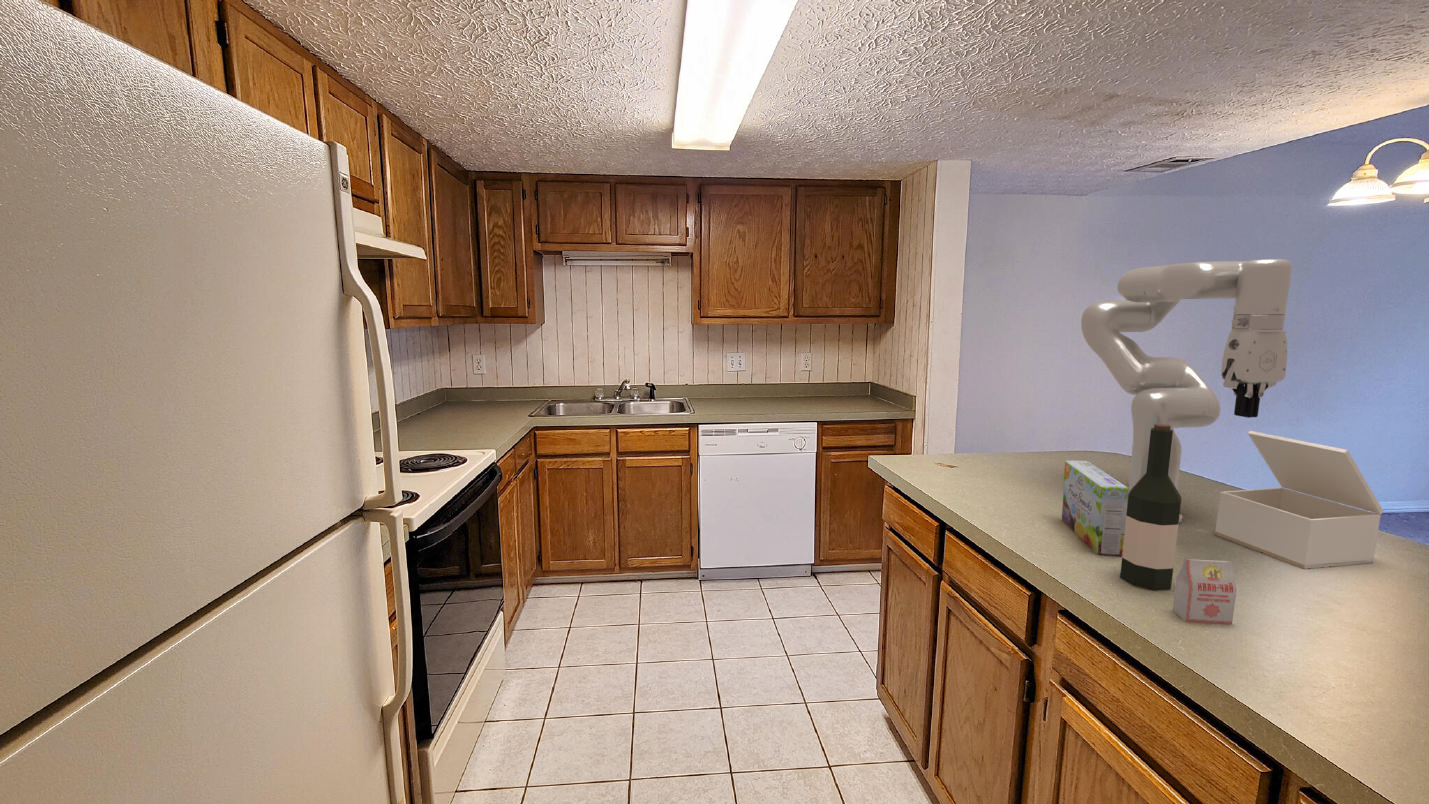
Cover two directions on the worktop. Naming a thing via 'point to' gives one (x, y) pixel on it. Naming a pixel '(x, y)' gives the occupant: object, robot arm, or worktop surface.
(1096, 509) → the snack box
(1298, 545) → the carton
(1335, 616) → the worktop surface
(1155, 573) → the wine bottle
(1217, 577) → the white and red packet
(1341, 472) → the carton lid
